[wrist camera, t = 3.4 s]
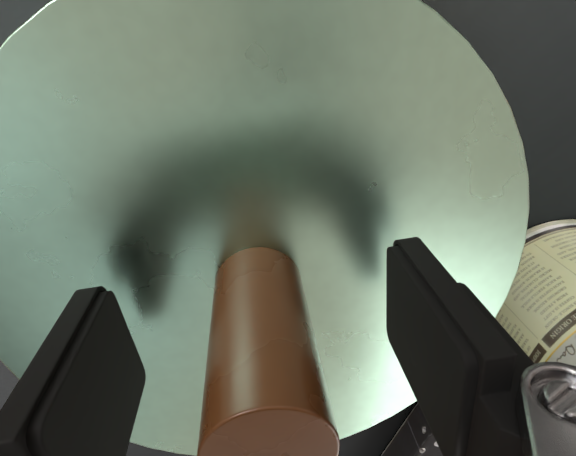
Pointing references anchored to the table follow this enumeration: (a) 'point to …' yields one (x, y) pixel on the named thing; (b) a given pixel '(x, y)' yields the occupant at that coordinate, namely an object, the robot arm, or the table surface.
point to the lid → (249, 200)
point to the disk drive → (413, 438)
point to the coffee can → (545, 295)
